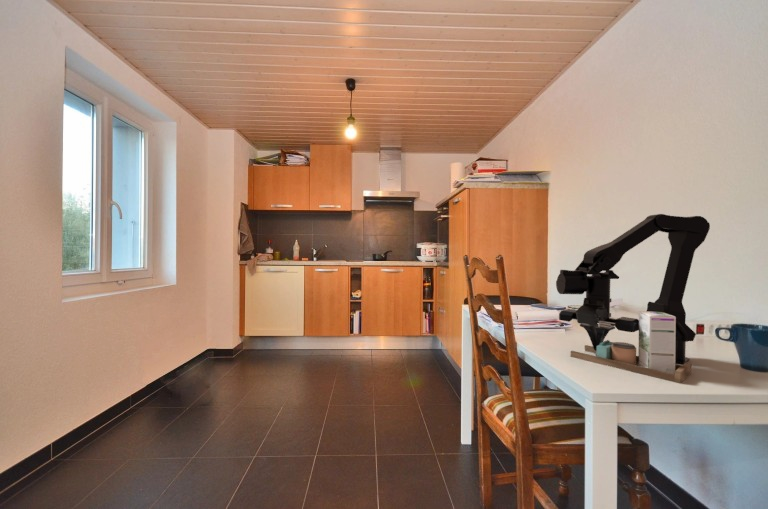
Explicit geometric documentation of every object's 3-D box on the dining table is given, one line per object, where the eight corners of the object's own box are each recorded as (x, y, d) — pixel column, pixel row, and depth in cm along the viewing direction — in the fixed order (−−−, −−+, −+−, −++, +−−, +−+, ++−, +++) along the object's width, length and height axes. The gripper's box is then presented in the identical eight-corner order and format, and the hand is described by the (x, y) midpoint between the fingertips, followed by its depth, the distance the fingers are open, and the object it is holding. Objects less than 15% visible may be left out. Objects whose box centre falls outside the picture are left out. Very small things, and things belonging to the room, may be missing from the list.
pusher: (607, 355, 99) (608, 339, 99) (617, 357, 97) (617, 341, 97) (596, 360, 94) (596, 343, 94) (606, 363, 92) (606, 345, 92)
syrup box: (676, 376, 84) (678, 315, 83) (648, 374, 85) (649, 314, 85) (662, 368, 89) (664, 311, 89) (636, 366, 90) (638, 310, 90)
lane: (586, 350, 104) (586, 341, 104) (691, 373, 86) (691, 363, 86) (570, 356, 98) (570, 347, 98) (680, 383, 79) (680, 372, 79)
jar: (638, 364, 92) (639, 345, 92) (631, 368, 89) (632, 348, 89) (615, 359, 96) (616, 340, 96) (607, 363, 93) (608, 343, 93)
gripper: (550, 293, 100) (549, 347, 100) (626, 301, 85) (624, 365, 85) (568, 290, 106) (567, 341, 107) (641, 297, 92) (640, 356, 92)
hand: (596, 350), depth 98 cm, fingers closed
